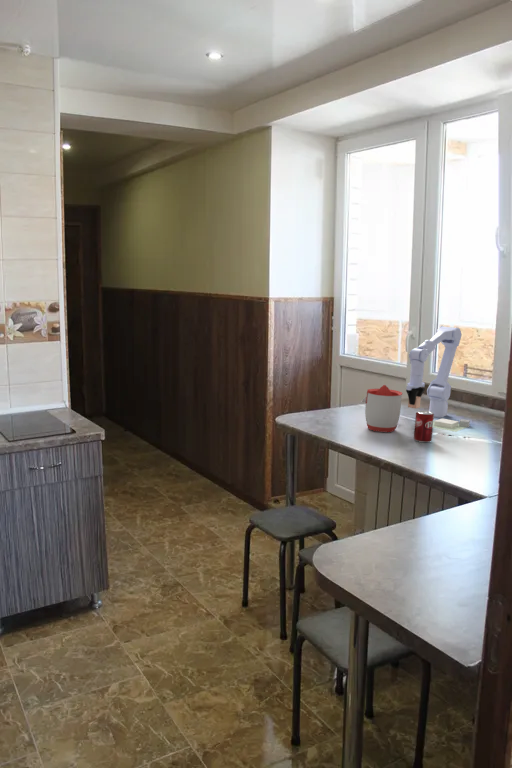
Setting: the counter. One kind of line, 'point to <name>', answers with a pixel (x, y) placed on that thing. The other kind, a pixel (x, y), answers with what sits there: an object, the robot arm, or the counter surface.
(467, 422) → the grey brick
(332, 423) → the counter surface
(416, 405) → the salmon pink block
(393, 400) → the citrus juicer
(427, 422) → the soda can
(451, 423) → the cream square slab
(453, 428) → the baseplate
